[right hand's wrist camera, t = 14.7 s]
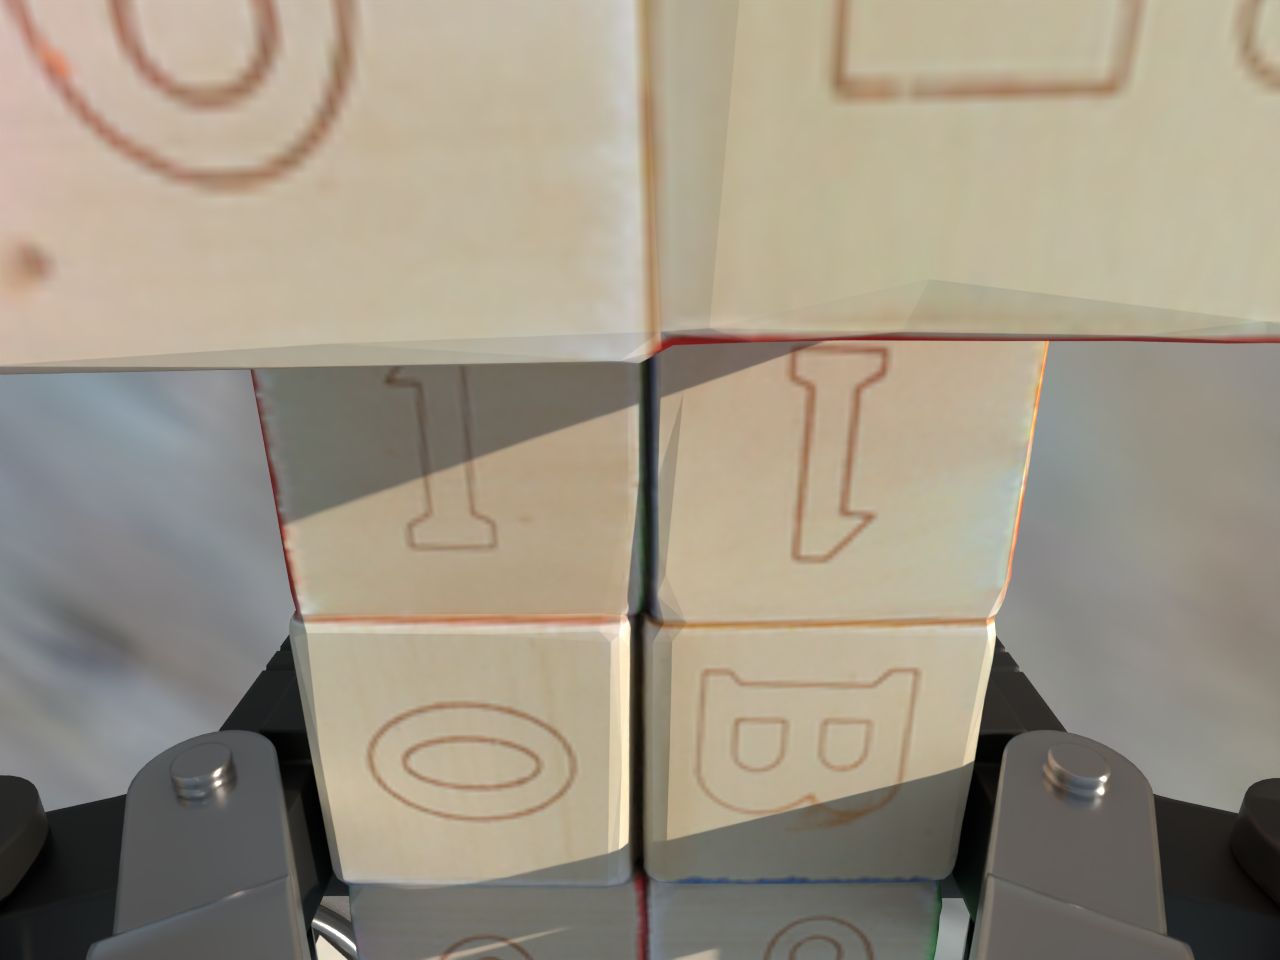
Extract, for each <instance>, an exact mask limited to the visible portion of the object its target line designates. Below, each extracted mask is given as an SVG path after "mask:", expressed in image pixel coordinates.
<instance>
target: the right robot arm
mask: <svg viewBox="0 0 1280 960" xmlns="http://www.w3.org/2000/svg"><path fill="white" fill-rule="evenodd" d="M280 647H281V649H280V651H277V652H276V653H275V655H274V656H273V657H272V659H271V660H270V661H269V663H268V664H267V668H266V671H262V672H261V674H260V675H259V676H258V678H257V679H256V681H255V682H254V683H253V685H252V686H251V687H250V689H249V690H248V691H247V693H246V694H245V696H244V697H243V698H242V700H241V701H240V702H239V704H238V705H237V707H236V708H235V709H234V711H233V712H232V713H231V715H230V716H229V717H228V719H227V720H226V722H225V723H224V724H223V726H222V727H221V728H220V730H219V731H218V732H212V733H208V734H203V735H200V736H197V737H194V738H191V739H188V740H186V741H183V742H181V743H179V744H177V745H175V746H173V747H171V748H169V749H167V750H165V751H164V752H162V753H161V754H159V755H158V756H156V757H155V758H154V759H152V760H151V761H150V762H148V763H147V764H146V765H145V766H144V767H143V768H142V769H141V770H140V771H139V772H138V774H137V775H136V776H135V777H134V779H133V780H132V782H131V784H130V786H129V788H128V792H127V794H124V795H121V796H117V797H113V798H108V799H104V800H99V801H94V802H90V803H85V804H81V805H76V806H72V807H67V808H62V809H58V810H53V811H49V812H45V811H44V808H43V805H42V802H41V799H40V796H39V794H38V791H37V789H36V787H35V786H34V784H32V783H31V782H30V781H28V780H26V779H23V778H21V777H15V776H3V775H0V960H358V958H357V952H356V946H355V941H354V935H353V929H352V923H351V922H350V921H348V920H347V919H345V918H344V917H342V916H341V915H339V914H337V913H336V912H334V911H332V910H330V909H328V908H326V907H324V906H322V905H320V903H321V900H322V898H323V896H349V886H348V885H346V884H345V883H343V882H342V881H341V880H339V879H338V878H337V877H336V875H335V873H334V871H333V868H332V863H331V857H330V852H329V847H328V842H327V836H326V831H325V826H324V820H323V815H322V810H321V804H320V799H319V794H318V788H317V783H316V778H315V773H314V767H313V762H312V756H311V751H310V745H309V740H308V735H307V729H306V724H305V718H304V713H303V707H302V702H301V696H300V691H299V685H298V680H297V675H296V669H295V664H294V658H293V653H292V647H291V642H290V634H289V635H288V637H287V638H286V640H285V641H284V642H283V644H282V645H281V646H280ZM940 884H941V897H942V898H963V900H964V902H965V904H966V906H967V909H968V911H969V913H970V918H969V922H968V927H967V932H966V937H965V942H964V949H963V955H962V960H1280V778H1271V779H1266V780H1261V781H1259V782H1256V783H1254V784H1253V785H1252V786H1250V787H1249V789H1248V790H1247V792H1246V794H1245V797H1244V799H1243V802H1242V805H1241V808H1240V811H1239V814H1238V813H1233V812H1229V811H1224V810H1220V809H1215V808H1211V807H1206V806H1202V805H1197V804H1192V803H1188V802H1183V801H1179V800H1174V799H1170V798H1166V797H1163V796H1159V795H1156V794H1153V792H1152V788H1151V786H1150V784H1149V782H1148V780H1147V779H1146V777H1145V776H1144V775H1143V774H1142V772H1141V771H1140V770H1139V769H1138V768H1137V767H1136V766H1135V765H1134V764H1133V763H1132V762H1130V761H1129V760H1128V759H1126V758H1125V757H1124V756H1122V755H1121V754H1119V753H1118V752H1116V751H1115V750H1113V749H1111V748H1109V747H1107V746H1105V745H1103V744H1101V743H1099V742H1097V741H1094V740H1092V739H1089V738H1086V737H1083V736H1080V735H1077V734H1072V733H1068V732H1067V731H1066V730H1065V728H1064V727H1063V726H1062V724H1061V723H1060V722H1059V720H1058V719H1057V717H1056V716H1055V715H1054V713H1053V712H1052V711H1051V709H1050V708H1049V707H1048V705H1047V704H1046V703H1045V701H1044V700H1043V699H1042V697H1041V696H1040V695H1039V693H1038V692H1037V690H1036V689H1035V688H1034V686H1033V685H1032V684H1031V682H1030V681H1029V680H1028V678H1027V677H1026V676H1025V674H1024V673H1023V672H1019V666H1018V665H1017V663H1016V662H1015V661H1014V659H1013V658H1012V657H1011V655H1010V654H1009V653H1008V652H1005V647H1004V646H1003V645H1002V643H1001V642H1000V641H999V639H998V638H997V636H996V640H995V647H994V654H993V661H992V666H991V671H990V675H989V680H988V685H987V689H986V694H985V699H984V704H983V710H982V717H981V723H980V729H979V735H978V741H977V747H976V753H975V759H974V766H973V772H972V777H971V782H970V787H969V792H968V797H967V802H966V807H965V812H964V817H963V822H962V829H961V835H960V842H959V849H958V855H957V858H956V862H955V866H954V868H953V871H952V873H951V874H949V875H948V876H947V877H946V878H945V879H942V880H940Z"/></svg>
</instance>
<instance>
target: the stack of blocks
mask: <svg viewBox="0 0 1280 960" xmlns="http://www.w3.org/2000/svg"><path fill="white" fill-rule="evenodd" d="M1049 341H1148V342H1189V343H1280V0H0V374H49V373H97V372H146V371H194V370H243V369H251V374H252V380H253V385H254V391H255V396H256V402H257V407H258V413H259V418H260V423H261V429H262V434H263V440H264V445H265V451H266V456H267V461H268V467H269V472H270V478H271V483H272V489H273V494H274V499H275V505H276V511H277V517H278V522H279V528H280V534H281V539H282V545H283V551H284V556H285V562H286V568H287V573H288V578H289V584H290V589H291V594H292V597H293V601H294V604H295V608H296V611H295V613H294V615H293V616H292V618H291V620H290V642H291V647H292V653H293V658H294V664H295V669H296V675H297V680H298V685H299V691H300V696H301V702H302V707H303V713H304V718H305V724H306V729H307V735H308V740H309V745H310V751H311V756H312V762H313V767H314V773H315V778H316V783H317V788H318V794H319V799H320V804H321V810H322V815H323V820H324V826H325V831H326V836H327V842H328V847H329V852H330V857H331V863H332V868H333V871H334V873H335V875H336V877H337V878H338V879H339V880H341V881H342V882H343V883H345V884H346V885H348V886H349V902H350V913H351V922H352V929H353V935H354V941H355V946H356V952H357V958H358V960H934V956H935V952H936V945H937V938H938V931H939V919H940V913H941V909H942V897H941V884H940V880H942V879H945V878H946V877H947V876H948V875H949V874H951V873H952V871H953V868H954V866H955V862H956V858H957V855H958V849H959V842H960V835H961V829H962V822H963V817H964V812H965V807H966V802H967V797H968V792H969V787H970V782H971V777H972V772H973V766H974V759H975V753H976V747H977V741H978V735H979V729H980V723H981V717H982V710H983V704H984V699H985V694H986V689H987V685H988V680H989V675H990V671H991V666H992V661H993V654H994V647H995V640H996V634H995V624H994V617H995V615H996V614H997V612H998V610H999V608H1000V606H1001V605H1002V603H1003V600H1004V597H1005V593H1006V589H1007V586H1008V584H1009V581H1010V578H1011V566H1012V559H1013V554H1014V549H1015V544H1016V539H1017V534H1018V528H1019V523H1020V517H1021V511H1022V505H1023V500H1024V494H1025V488H1026V482H1027V475H1028V469H1029V462H1030V455H1031V448H1032V441H1033V434H1034V428H1035V422H1036V415H1037V409H1038V403H1039V397H1040V391H1041V385H1042V378H1043V373H1044V367H1045V361H1046V355H1047V349H1048V343H1049Z"/></svg>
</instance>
